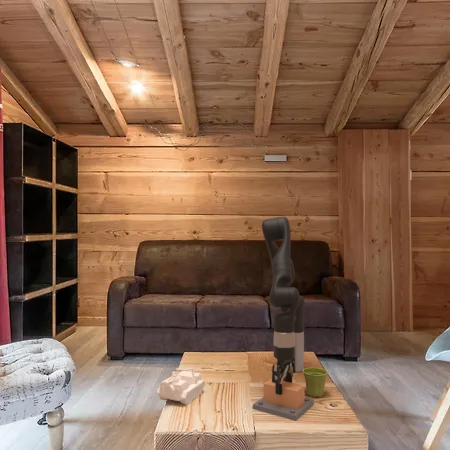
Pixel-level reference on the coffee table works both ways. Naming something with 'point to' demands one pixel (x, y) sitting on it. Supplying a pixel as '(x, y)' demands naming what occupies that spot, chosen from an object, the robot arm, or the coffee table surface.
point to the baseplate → (283, 408)
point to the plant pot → (315, 381)
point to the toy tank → (181, 386)
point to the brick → (285, 394)
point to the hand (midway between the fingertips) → (284, 390)
